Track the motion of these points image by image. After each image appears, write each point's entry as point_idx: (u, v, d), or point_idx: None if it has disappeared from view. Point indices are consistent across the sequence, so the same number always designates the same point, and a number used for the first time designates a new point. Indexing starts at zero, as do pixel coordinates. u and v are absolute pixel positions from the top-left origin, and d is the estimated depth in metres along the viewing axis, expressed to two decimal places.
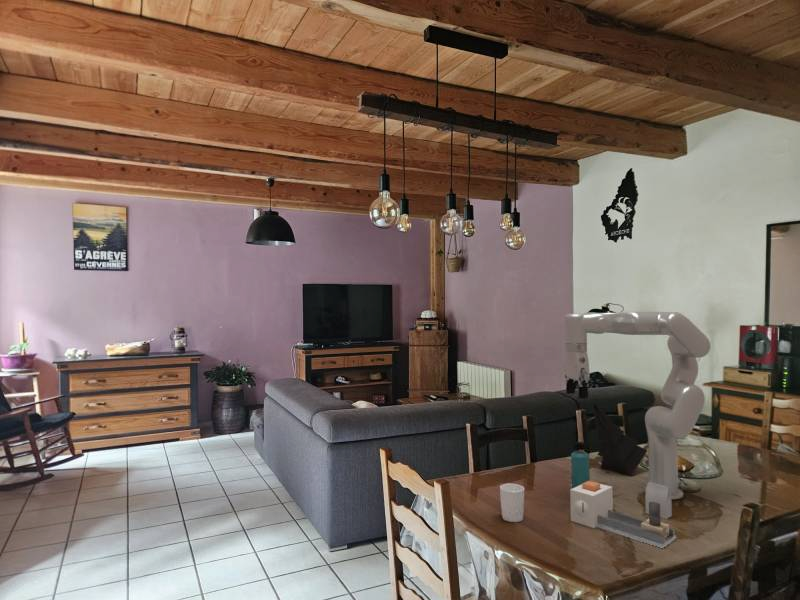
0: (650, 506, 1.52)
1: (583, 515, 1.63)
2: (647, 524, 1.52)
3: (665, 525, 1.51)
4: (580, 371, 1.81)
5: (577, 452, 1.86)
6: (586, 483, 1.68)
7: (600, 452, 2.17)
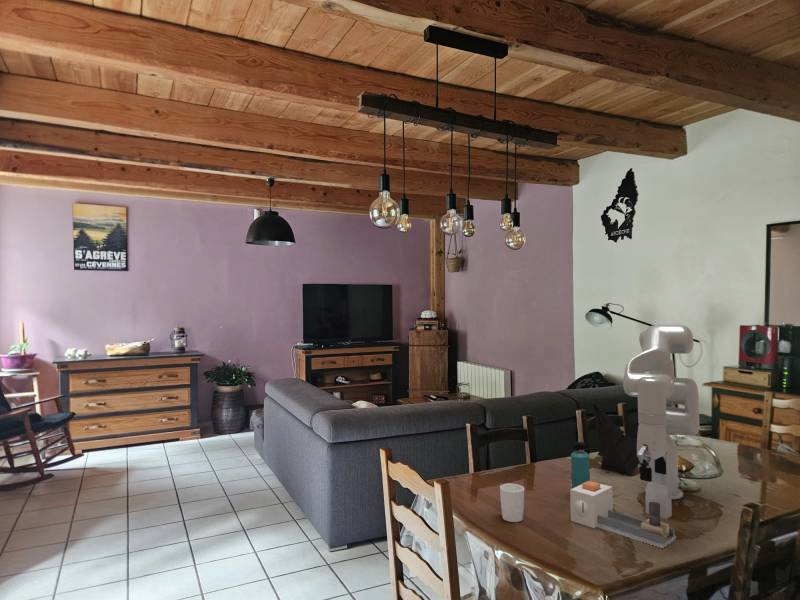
0: (650, 506, 1.52)
1: (583, 515, 1.63)
2: (647, 524, 1.52)
3: (665, 525, 1.51)
4: None
5: (577, 452, 1.86)
6: (586, 483, 1.68)
7: (600, 452, 2.17)
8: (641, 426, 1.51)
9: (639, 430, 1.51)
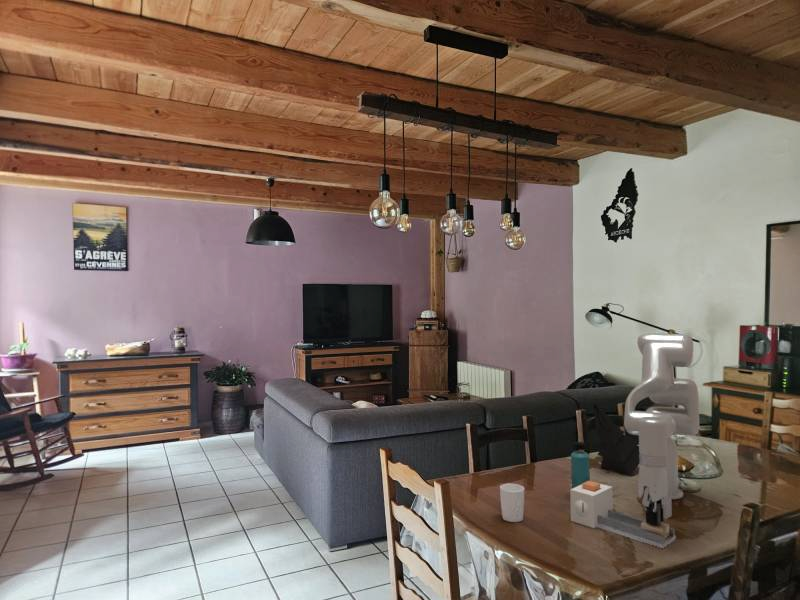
0: None
1: (583, 515, 1.63)
2: (647, 524, 1.52)
3: (665, 525, 1.51)
4: None
5: (577, 452, 1.86)
6: (586, 483, 1.68)
7: (600, 452, 2.17)
8: (642, 468, 1.51)
9: (640, 471, 1.51)
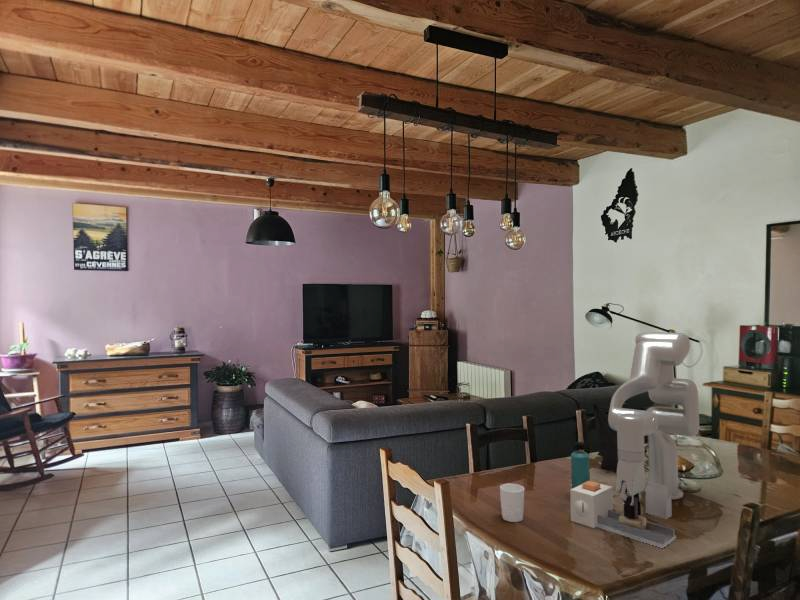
0: None
1: (583, 515, 1.63)
2: (625, 517, 1.57)
3: (642, 518, 1.56)
4: None
5: (577, 452, 1.86)
6: (586, 483, 1.68)
7: (600, 452, 2.17)
8: (620, 463, 1.56)
9: (618, 466, 1.56)
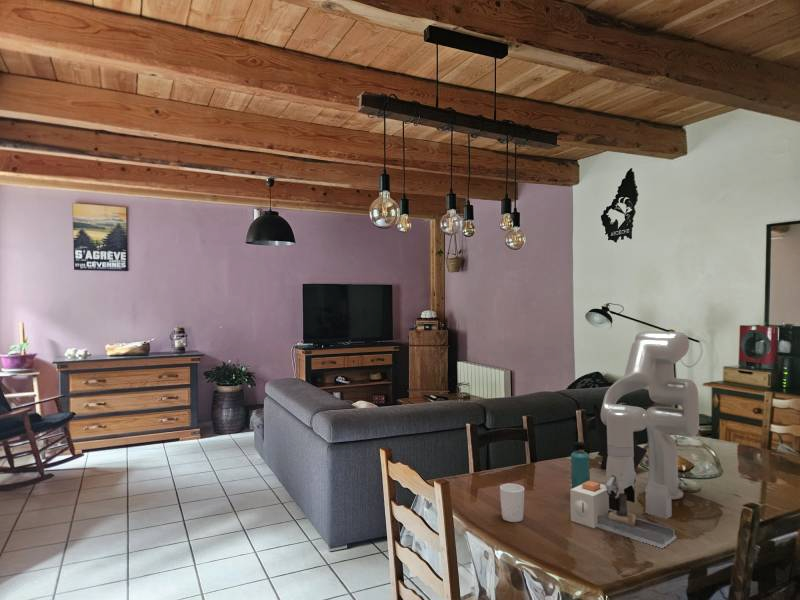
0: None
1: (583, 515, 1.63)
2: (614, 514, 1.60)
3: (631, 515, 1.59)
4: None
5: (577, 452, 1.86)
6: (586, 483, 1.68)
7: (600, 452, 2.17)
8: (610, 458, 1.58)
9: (608, 461, 1.59)
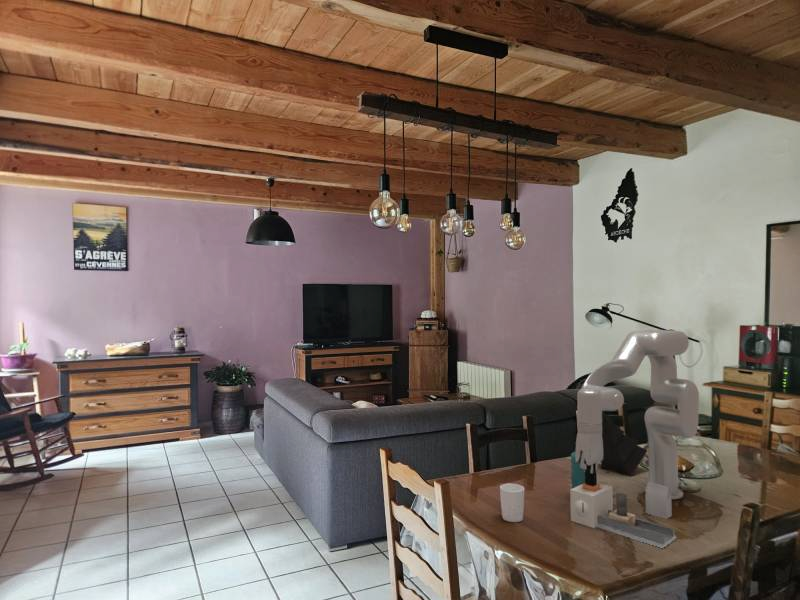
0: (617, 497, 1.60)
1: (583, 515, 1.63)
2: (614, 514, 1.60)
3: (631, 515, 1.59)
4: None
5: None
6: (586, 484, 1.68)
7: None
8: (579, 434, 1.66)
9: (577, 438, 1.66)
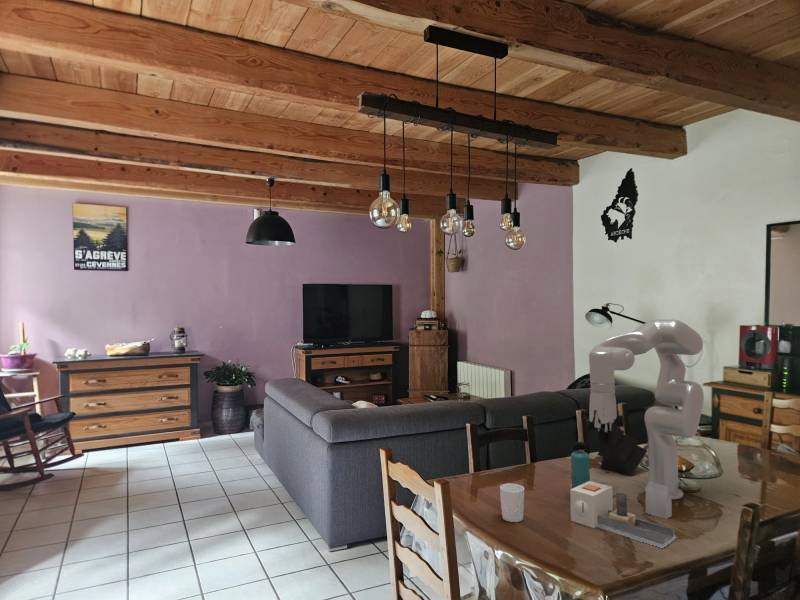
0: (617, 497, 1.60)
1: (583, 515, 1.63)
2: (614, 514, 1.60)
3: (631, 515, 1.59)
4: None
5: (577, 452, 1.86)
6: (586, 487, 1.68)
7: (600, 452, 2.17)
8: (592, 394, 1.68)
9: (591, 398, 1.69)
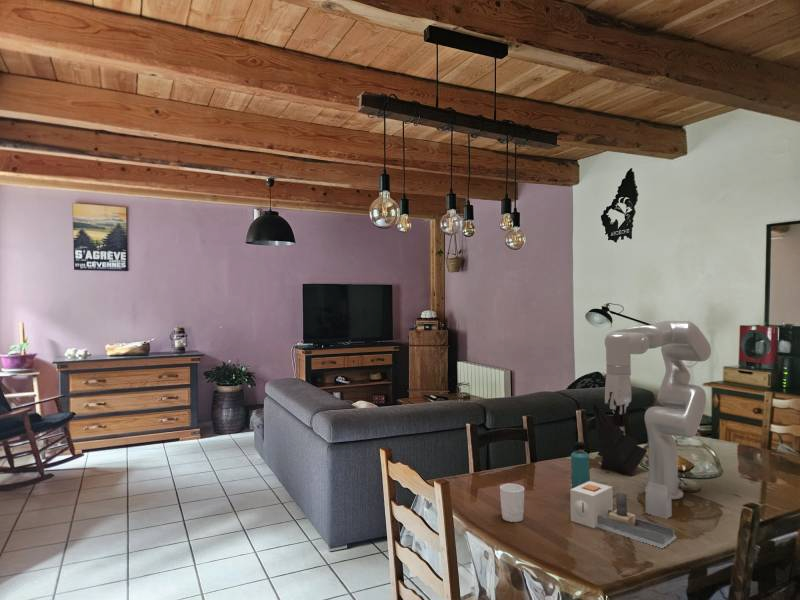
0: (617, 497, 1.60)
1: (583, 515, 1.63)
2: (614, 514, 1.60)
3: (631, 515, 1.59)
4: None
5: (577, 452, 1.86)
6: (586, 487, 1.68)
7: (600, 452, 2.17)
8: (608, 376, 1.71)
9: (607, 380, 1.71)
